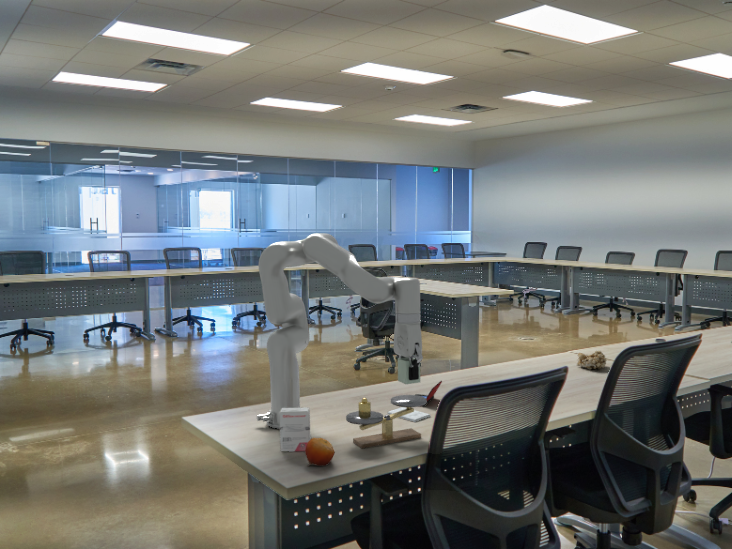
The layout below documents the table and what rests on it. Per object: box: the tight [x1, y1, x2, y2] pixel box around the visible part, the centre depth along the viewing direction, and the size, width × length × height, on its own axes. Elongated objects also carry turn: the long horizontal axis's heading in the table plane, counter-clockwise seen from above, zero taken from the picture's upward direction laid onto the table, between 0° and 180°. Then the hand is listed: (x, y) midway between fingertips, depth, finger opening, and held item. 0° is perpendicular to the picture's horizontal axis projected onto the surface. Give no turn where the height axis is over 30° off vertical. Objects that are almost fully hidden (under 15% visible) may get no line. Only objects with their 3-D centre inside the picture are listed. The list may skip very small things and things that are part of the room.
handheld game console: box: [414, 380, 443, 407], centre depth 223 cm, size 12×11×7 cm
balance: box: [345, 394, 427, 449], centre depth 182 cm, size 26×11×14 cm, turn 116°
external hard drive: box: [387, 407, 431, 423], centre depth 207 cm, size 2×8×12 cm
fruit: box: [304, 437, 336, 468], centre depth 164 cm, size 8×8×8 cm
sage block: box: [397, 357, 421, 385], centre depth 184 cm, size 5×5×7 cm
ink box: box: [279, 406, 312, 452], centre depth 176 cm, size 9×5×12 cm, turn 91°
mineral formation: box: [576, 350, 607, 370], centre depth 273 cm, size 8×13×15 cm
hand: (409, 377), depth 184 cm, fingers closed on sage block, 5 cm apart
